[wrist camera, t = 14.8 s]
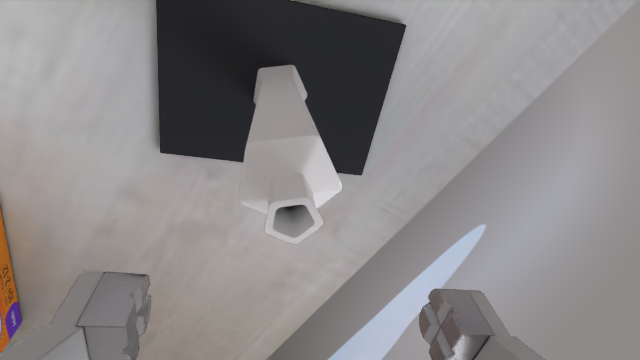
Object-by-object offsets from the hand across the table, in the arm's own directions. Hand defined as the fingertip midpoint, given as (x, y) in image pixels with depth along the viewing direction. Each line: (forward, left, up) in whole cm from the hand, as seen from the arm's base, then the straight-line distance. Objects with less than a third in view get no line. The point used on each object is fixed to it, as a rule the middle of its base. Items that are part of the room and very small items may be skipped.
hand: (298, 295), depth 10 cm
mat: (0, 0, -19) cm, 19 cm away
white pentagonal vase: (0, 0, -19) cm, 19 cm away
